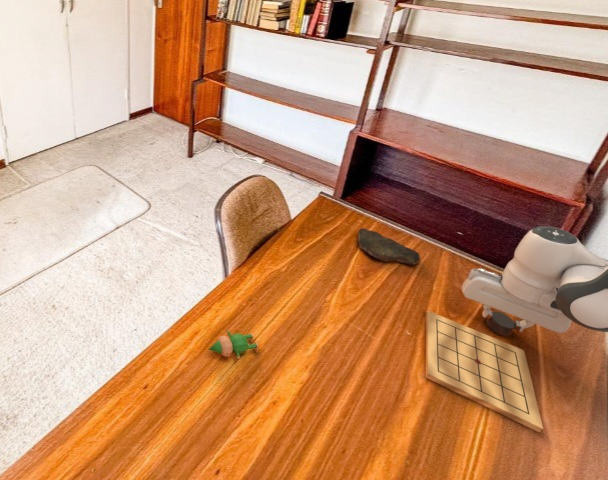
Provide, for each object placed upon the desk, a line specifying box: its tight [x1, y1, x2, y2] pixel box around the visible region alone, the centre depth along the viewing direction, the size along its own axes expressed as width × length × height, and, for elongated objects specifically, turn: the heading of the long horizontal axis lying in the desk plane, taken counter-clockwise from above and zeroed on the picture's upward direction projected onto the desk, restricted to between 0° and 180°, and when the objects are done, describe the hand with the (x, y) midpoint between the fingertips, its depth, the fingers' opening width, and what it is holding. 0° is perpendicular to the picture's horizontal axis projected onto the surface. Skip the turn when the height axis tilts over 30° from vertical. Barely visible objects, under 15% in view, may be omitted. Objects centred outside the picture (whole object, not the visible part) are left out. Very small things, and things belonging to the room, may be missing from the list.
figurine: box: [208, 329, 259, 360], centre depth 93 cm, size 4×7×12 cm
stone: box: [357, 227, 421, 266], centre depth 124 cm, size 18×11×3 cm, turn 49°
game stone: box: [485, 310, 515, 337], centre depth 102 cm, size 5×5×3 cm
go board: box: [425, 310, 544, 434], centre depth 93 cm, size 20×20×2 cm
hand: (501, 322), depth 102 cm, fingers closed on game stone, 5 cm apart
